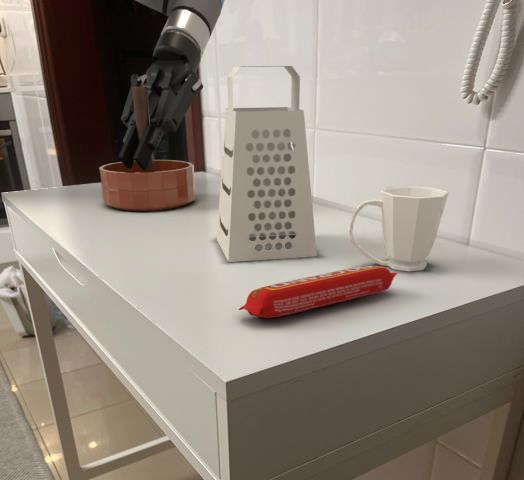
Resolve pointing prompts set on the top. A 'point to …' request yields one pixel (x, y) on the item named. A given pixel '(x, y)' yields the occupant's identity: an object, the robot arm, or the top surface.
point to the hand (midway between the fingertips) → (132, 163)
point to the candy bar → (317, 291)
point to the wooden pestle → (142, 118)
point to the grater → (265, 180)
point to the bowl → (148, 185)
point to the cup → (407, 224)
